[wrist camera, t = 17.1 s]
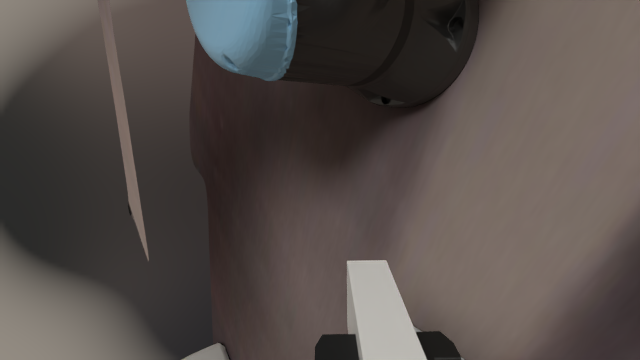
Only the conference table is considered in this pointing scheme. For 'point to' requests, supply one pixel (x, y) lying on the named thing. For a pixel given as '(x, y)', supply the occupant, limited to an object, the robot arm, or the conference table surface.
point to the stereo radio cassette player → (210, 353)
